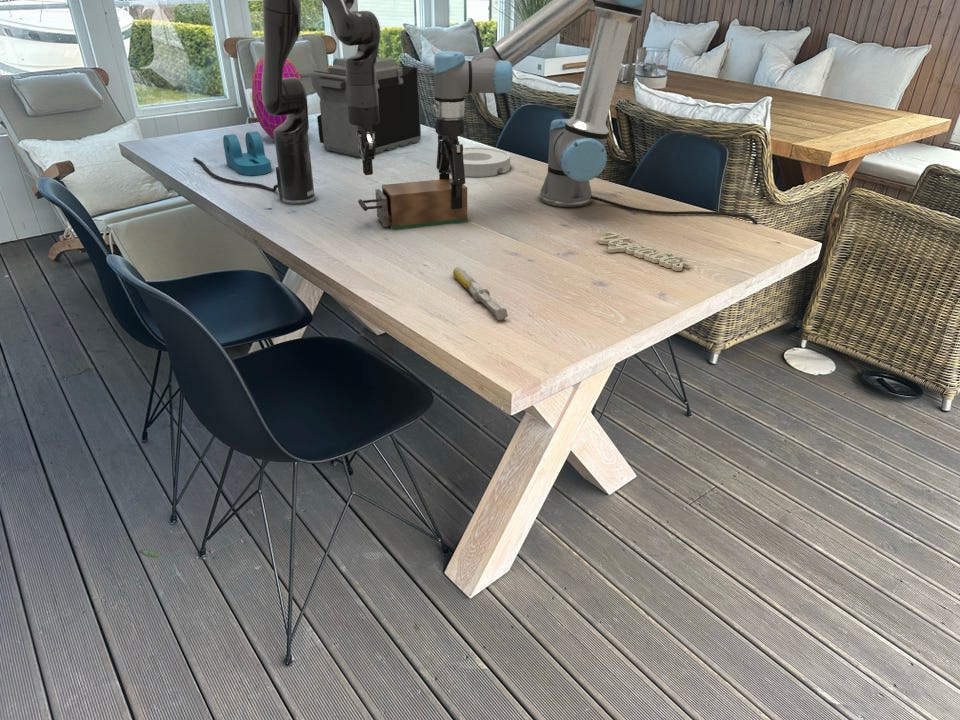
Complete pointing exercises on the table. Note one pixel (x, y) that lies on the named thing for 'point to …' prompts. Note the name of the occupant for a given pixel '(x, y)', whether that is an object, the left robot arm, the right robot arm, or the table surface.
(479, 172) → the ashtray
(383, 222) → the drawer
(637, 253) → the decorative sign
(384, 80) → the electronic device
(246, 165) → the camera mount
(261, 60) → the decorative egg
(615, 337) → the table surface
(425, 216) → the cabinet
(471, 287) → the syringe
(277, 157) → the left robot arm
